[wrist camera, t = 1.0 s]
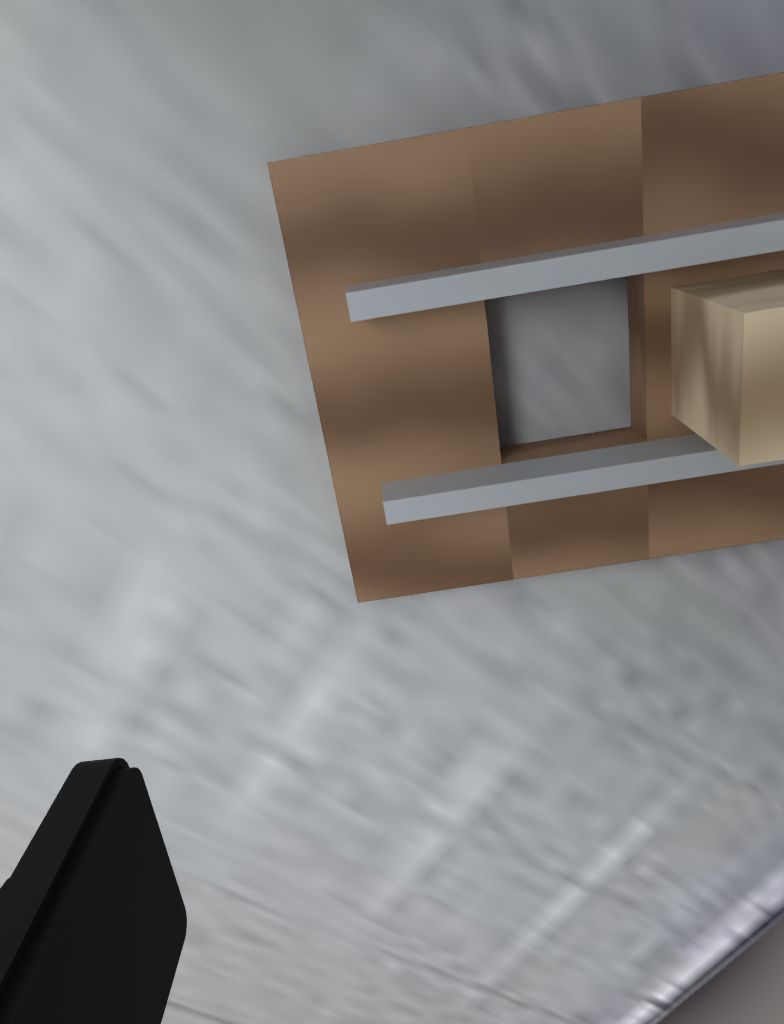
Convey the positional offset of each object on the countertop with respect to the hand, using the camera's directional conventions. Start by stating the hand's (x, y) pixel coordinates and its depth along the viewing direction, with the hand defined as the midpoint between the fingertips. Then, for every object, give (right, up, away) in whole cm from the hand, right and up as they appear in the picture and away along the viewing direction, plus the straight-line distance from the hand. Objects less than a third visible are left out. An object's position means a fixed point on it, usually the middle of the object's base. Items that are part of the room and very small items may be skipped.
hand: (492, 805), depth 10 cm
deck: (+13, +11, +21) cm, 27 cm away
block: (+12, +10, +19) cm, 25 cm away
